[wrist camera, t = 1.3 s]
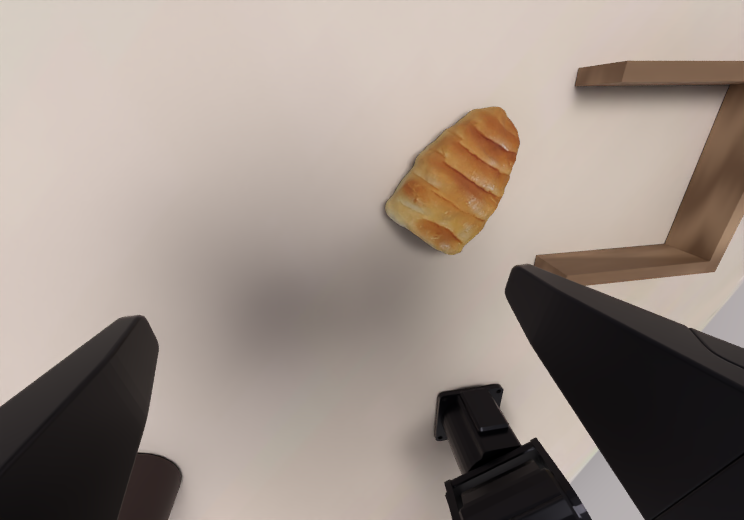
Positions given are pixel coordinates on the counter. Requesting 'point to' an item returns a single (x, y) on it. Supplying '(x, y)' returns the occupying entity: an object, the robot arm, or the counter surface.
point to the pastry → (457, 180)
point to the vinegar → (150, 489)
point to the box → (703, 196)
